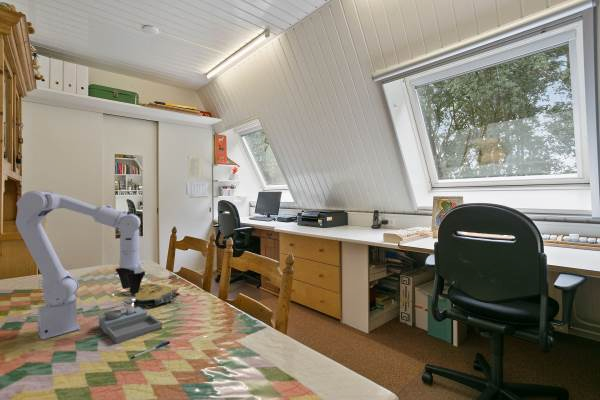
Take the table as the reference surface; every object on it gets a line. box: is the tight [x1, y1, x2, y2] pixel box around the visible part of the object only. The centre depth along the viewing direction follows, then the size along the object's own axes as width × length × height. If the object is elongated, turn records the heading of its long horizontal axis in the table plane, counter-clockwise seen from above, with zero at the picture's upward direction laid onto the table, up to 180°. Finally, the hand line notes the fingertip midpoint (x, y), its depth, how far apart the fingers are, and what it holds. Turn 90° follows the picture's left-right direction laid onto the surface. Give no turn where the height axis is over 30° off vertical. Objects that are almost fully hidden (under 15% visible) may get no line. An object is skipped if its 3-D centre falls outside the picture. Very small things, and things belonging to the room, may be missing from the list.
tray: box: [105, 314, 163, 345], centre depth 93 cm, size 13×9×2 cm
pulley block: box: [133, 283, 182, 309], centre depth 122 cm, size 14×6×30 cm
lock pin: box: [123, 296, 136, 316], centre depth 100 cm, size 4×4×8 cm
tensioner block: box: [98, 306, 148, 334], centre depth 98 cm, size 12×7×4 cm, turn 138°
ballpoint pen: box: [130, 340, 171, 360], centre depth 82 cm, size 10×1×1 cm, turn 143°
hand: (130, 290), depth 100 cm, fingers open, 7 cm apart
